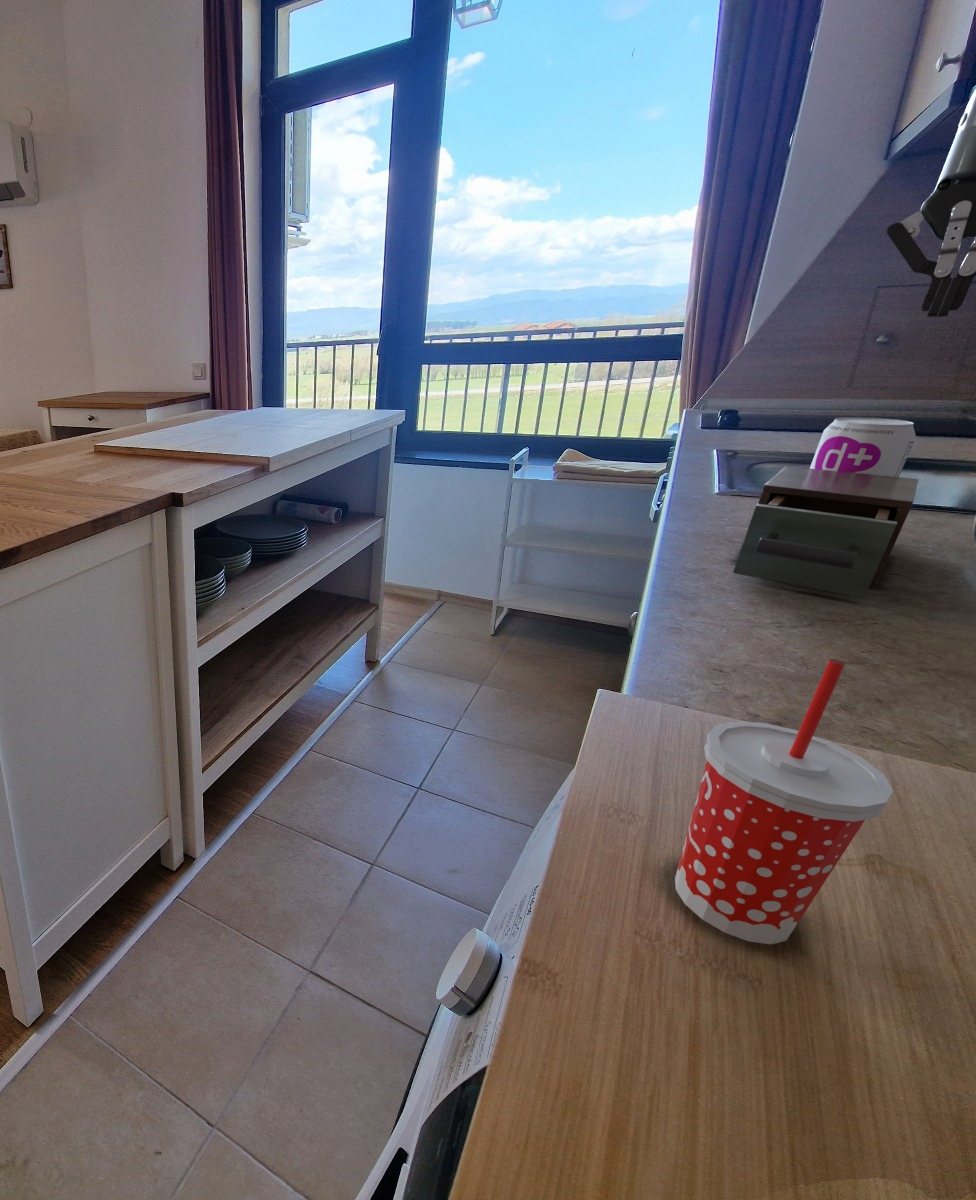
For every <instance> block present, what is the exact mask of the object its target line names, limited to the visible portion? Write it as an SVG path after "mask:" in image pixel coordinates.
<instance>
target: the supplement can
mask: <svg viewBox="0 0 976 1200" xmlns="http://www.w3.org/2000/svg"><path fill="white" fill-rule="evenodd" d="M914 425H915V423H914V422H913V421H909V420H902V419H893V418H892V419H891V418H879V417H878V418H877V417H837V418H836V417H835V418H834V420H833V421H832V422H831V423H830V424H829V425H828V426H827V427H826V428H825V429H823V431H822V433H821V434H822V435H821V437H820V439H819V442H818V445H817V448H816V450H815V453H814V456H813V459H812V461H811V463H810V467H809V469H818V470H829V471H839V472H850V473H860V474H871V475H881V476H892V477H900V475H901V473H902V471H903V468H904V466H905V464H906V461H907V460H908V457H909V456H910V453H911V450H912V448H913V446H914V442H915V441H916V438H917V435H916V432H915V427H914Z"/></svg>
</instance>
